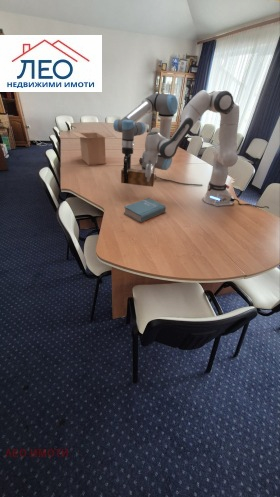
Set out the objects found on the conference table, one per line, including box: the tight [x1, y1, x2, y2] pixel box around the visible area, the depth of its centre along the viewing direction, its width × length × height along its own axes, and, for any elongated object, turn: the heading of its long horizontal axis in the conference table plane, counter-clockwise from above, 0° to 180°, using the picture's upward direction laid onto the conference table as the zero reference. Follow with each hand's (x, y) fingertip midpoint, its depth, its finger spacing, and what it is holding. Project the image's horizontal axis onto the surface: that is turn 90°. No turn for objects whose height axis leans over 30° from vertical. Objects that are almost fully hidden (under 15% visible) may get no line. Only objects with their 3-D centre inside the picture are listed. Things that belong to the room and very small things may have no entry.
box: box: [70, 129, 114, 166], centre depth 229 cm, size 44×36×27 cm
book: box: [123, 197, 167, 223], centre depth 146 cm, size 23×16×5 cm
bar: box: [120, 167, 156, 188], centre depth 156 cm, size 23×5×9 cm, turn 81°
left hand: (126, 181), depth 159 cm, fingers closed on bar, 5 cm apart
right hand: (148, 179), depth 156 cm, fingers closed on bar, 5 cm apart
